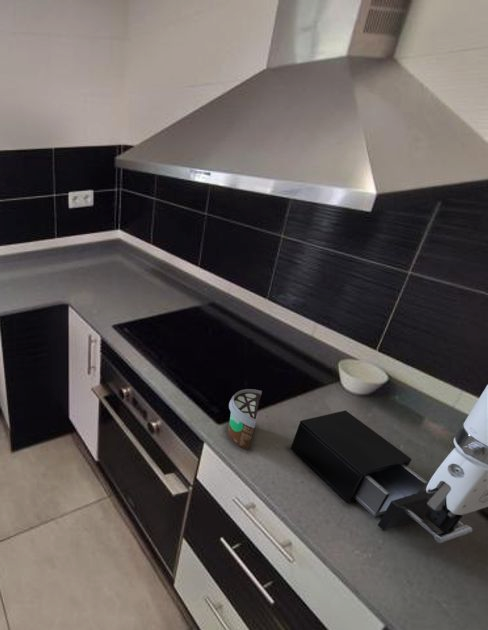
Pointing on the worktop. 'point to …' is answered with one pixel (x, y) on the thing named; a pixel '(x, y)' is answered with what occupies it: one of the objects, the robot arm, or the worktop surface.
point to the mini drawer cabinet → (343, 451)
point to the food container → (243, 416)
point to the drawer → (400, 500)
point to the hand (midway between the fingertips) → (437, 523)
